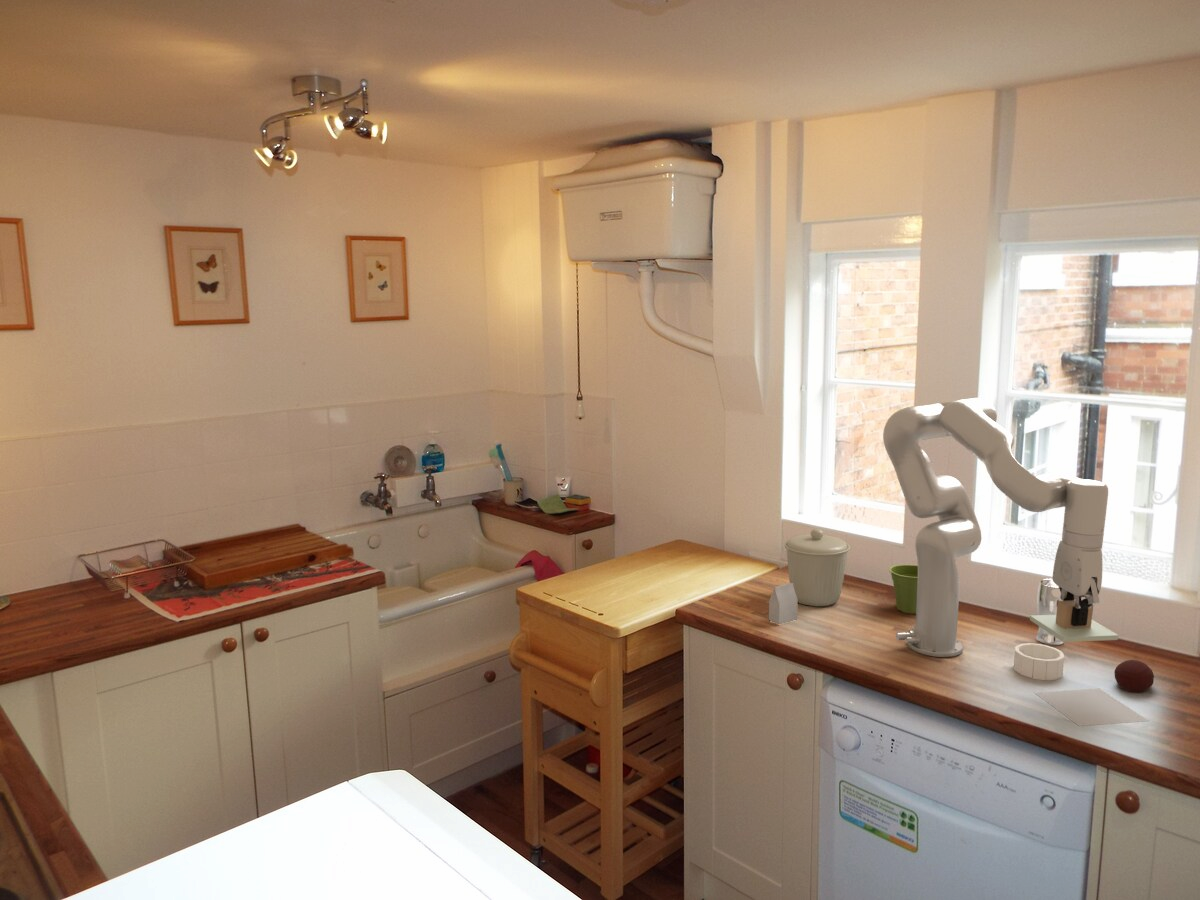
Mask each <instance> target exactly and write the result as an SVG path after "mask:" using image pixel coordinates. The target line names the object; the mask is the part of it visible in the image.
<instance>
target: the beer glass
mask: <svg viewBox="0 0 1200 900" xmlns="http://www.w3.org/2000/svg"><path fill="white" fill-rule="evenodd" d="M1060 596H1061V592H1060V589H1059V586H1058V585H1056V584H1055V583H1054V582H1053V578H1043V579H1040V580H1039V584H1038V588H1037V595H1036V597H1037V598H1036V606H1037V607H1036V609H1037V615H1056V614H1057V604H1058V601H1063V600H1061V597H1060ZM1035 639H1036V641H1037V642H1039V643H1040V644H1041V643H1042V644H1043V645H1047V646H1061V645H1062V644H1064V642H1062V641H1061V640H1059V639H1058V638H1056V637H1055V636H1053V635H1052V634H1050V633H1049V632H1047V631H1046V630H1044V629H1043V628H1041V627H1040V626H1038V630H1037V633H1036V637H1035Z"/></svg>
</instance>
